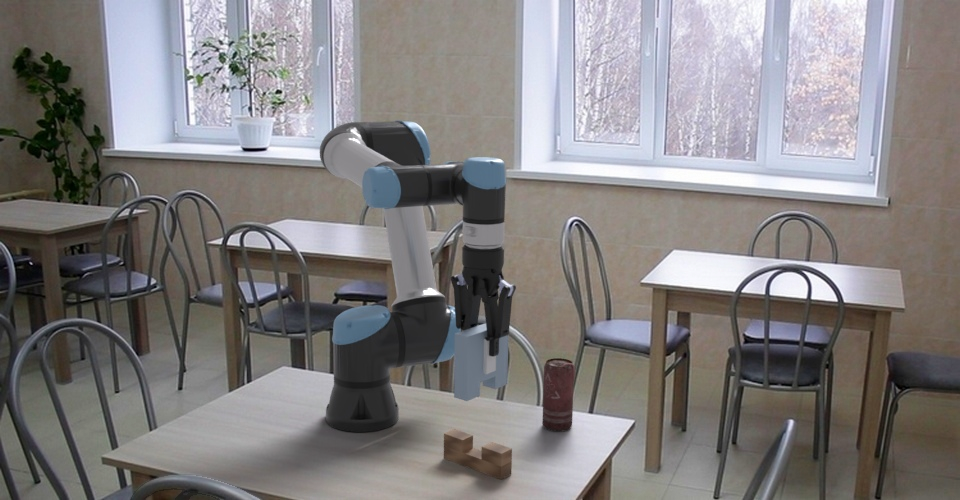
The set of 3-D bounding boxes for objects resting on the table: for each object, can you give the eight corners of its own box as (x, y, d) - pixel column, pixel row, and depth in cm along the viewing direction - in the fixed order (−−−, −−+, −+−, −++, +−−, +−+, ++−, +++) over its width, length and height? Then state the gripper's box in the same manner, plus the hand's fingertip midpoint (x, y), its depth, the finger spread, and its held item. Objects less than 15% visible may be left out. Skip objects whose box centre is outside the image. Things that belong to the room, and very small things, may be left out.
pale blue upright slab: (454, 397, 177) (454, 333, 175) (494, 380, 187) (495, 319, 184) (466, 401, 176) (467, 336, 173) (507, 384, 185) (508, 322, 182)
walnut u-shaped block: (443, 458, 187) (443, 433, 186) (454, 453, 189) (454, 428, 188) (501, 479, 178) (501, 453, 177) (511, 474, 180) (511, 448, 179)
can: (571, 433, 199) (573, 367, 196) (540, 430, 201) (542, 365, 198) (574, 422, 205) (577, 358, 202) (544, 419, 206) (546, 356, 204)
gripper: (435, 241, 178) (435, 365, 182) (506, 254, 168) (504, 384, 173) (462, 235, 183) (460, 356, 188) (532, 247, 174) (529, 374, 178)
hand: (481, 369), depth 180 cm, fingers closed on pale blue upright slab, 3 cm apart
